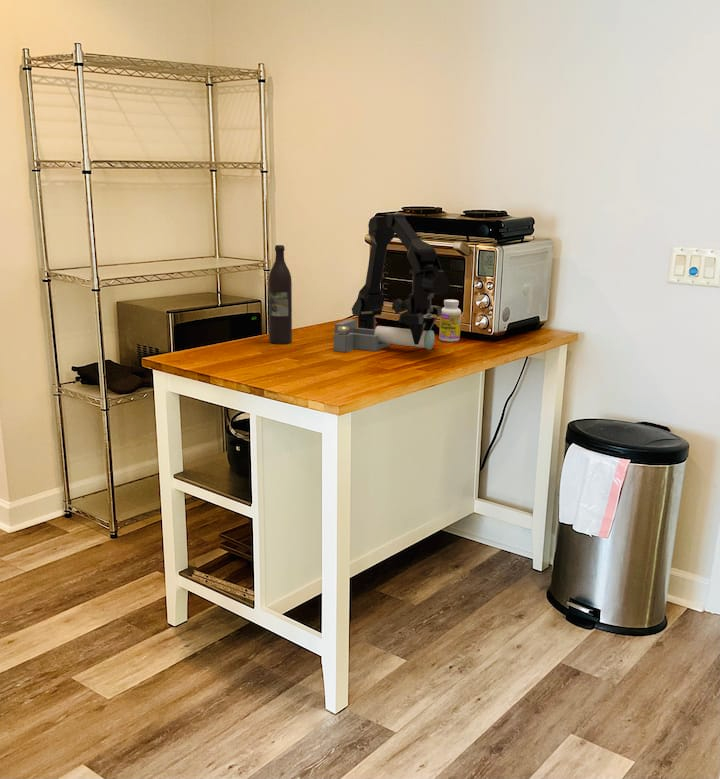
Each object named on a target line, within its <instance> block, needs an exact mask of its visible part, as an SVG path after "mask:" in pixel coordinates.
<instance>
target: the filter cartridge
mask: <svg viewBox="0 0 720 779" xmlns="http://www.w3.org/2000/svg"><path fill="white" fill-rule="evenodd" d="M374 335H375V336H378V342H380V343H388V344H389V345H396V346H397V345H398V346H408V347H416V348H425V349H426V350H432V349H433V346H434V345H435V337H436V336H435V331H434V330H432V329H431V330H428V331H423V333H422V336H421V339H420V341H419V344H418V345H415V344H414V340H413V337H412V333H411V330H410V328H404V327H403V328H401V327H393V326H383V325H377V326H375V332H374Z"/></svg>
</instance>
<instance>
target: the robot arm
mask: <svg viewBox="0 0 720 779" xmlns="http://www.w3.org/2000/svg"><path fill="white" fill-rule="evenodd" d="M367 227H368V236H369V238H370V240H371V245H370V246H371V247H370V251H369V252H370V253H369V259H368V263H367V264H368V266H367V271H366V279H365V283H364V285H363V286H362V288H360V290H359V291H358V295H357V298H356V301H355V302H354V304H353V306H352V307H351V312H352V315H353V316H355V317H357V328H365V329H374V330H375V329H376V316H382V311H383V309H384V306H385V305H384V302H385V298H386V296H385V294H384V293H383V290H382V289H381V284H382V279H383V272H384V268H385V267H384V266H385V261H386V255H387V250H388V245H389V244H390V243H391V241H392V240H394V238H395V235H396V237H397V238H398V239H399V241H400V242H401V243H402V245H403V246H404V248H405V249H406V251H407V255H406V258H407V260H408V262H409V264H410V266H411V267H412V268H411V269H410V270H409V274H410V275H412V286H411V287H412V288H411V293H409V294H408V298H407V299H405V300H402V299H400V298H397V299H393V300H392V303H391V310H392V311H394V312H395V315H397V314H399V316H398V322H399V323H400V324H401V323H402V324H405V325H406V326H408V327H409V329H410V330H411V333H412V337H413V340H414V344H415V345H418V344H419V341H420V339H421V336H422V333H423V331H428V330H432V328H433V326H434V325H435V323H436V321H438V317H440V316H441V315H442V308H441V307H440V306H439V305H432V299H433V298H434V297H435V295H436V296H444V295H446V294H447V293H448V292H449V290H450V287H451V282H450V280H449V277H448V276H446V275H445V271H444V270H443V267H442V264H441V261H440V259H439V257H438V254H437V251H436V249H435V248H434V247H433V246H432V245H431V244H430V243H428V242H425V241H424V240H422V239H421V238H420V236H418V234H417V233H416V231H415V230H414V229H413V227H412V226H411V224H410V223H409V222H408V220H407V217H406V215H405V214H403V213H389V214H387V215H383V216H382V215H381V216H380V215H379V216H378V215H376V216H372V217H371V218H370V219H369V222H368V226H367ZM434 315H435V316H436V317H435V316H434Z"/></svg>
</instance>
